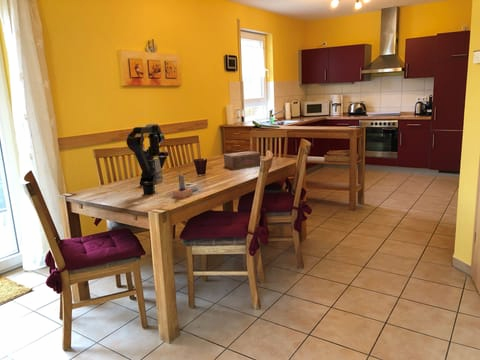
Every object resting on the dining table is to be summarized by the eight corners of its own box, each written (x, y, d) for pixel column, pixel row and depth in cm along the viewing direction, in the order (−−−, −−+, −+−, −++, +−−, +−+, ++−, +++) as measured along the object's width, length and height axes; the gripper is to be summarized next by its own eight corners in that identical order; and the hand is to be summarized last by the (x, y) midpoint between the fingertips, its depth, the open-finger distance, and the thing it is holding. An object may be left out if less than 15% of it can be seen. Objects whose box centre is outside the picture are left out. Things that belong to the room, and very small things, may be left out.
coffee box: (163, 181, 269) (161, 158, 265) (157, 183, 264) (154, 160, 260) (153, 180, 274) (151, 157, 270) (147, 182, 268) (144, 159, 265)
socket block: (190, 192, 229) (189, 186, 229) (179, 191, 233) (179, 185, 233) (198, 189, 236) (197, 183, 235) (187, 188, 240) (187, 182, 239)
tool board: (185, 200, 216) (184, 198, 215) (162, 198, 224) (162, 196, 223) (207, 191, 234) (207, 189, 234) (186, 189, 242) (185, 187, 242)
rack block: (184, 197, 218) (183, 191, 217) (173, 196, 222) (172, 190, 221) (192, 194, 225) (192, 188, 224) (181, 193, 229) (181, 187, 228)
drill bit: (183, 196, 221) (181, 175, 219) (179, 195, 223) (177, 175, 221) (186, 195, 224) (184, 174, 222) (182, 194, 226) (180, 174, 223)
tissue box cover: (251, 162, 326) (251, 150, 324) (260, 165, 314) (260, 152, 311) (224, 166, 314) (223, 154, 312) (232, 169, 302) (231, 156, 300)
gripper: (154, 142, 251) (156, 166, 254) (133, 146, 235) (136, 171, 239) (168, 142, 246) (170, 166, 249) (147, 146, 230) (150, 172, 233)
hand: (156, 169), depth 243 cm, fingers open, 9 cm apart
